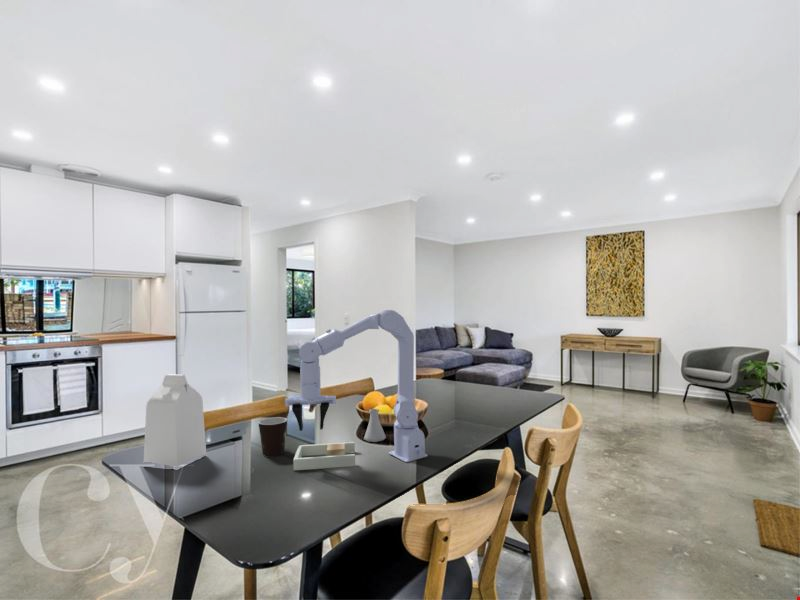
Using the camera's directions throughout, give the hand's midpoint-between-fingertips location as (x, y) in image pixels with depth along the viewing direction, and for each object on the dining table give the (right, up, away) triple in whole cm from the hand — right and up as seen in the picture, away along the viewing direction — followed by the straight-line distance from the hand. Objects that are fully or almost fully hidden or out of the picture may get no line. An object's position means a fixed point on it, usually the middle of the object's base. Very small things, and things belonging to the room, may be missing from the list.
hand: (311, 429), depth 119 cm
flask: (+17, -10, +19) cm, 28 cm away
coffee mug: (-13, -10, +9) cm, 19 cm away
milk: (-41, -11, +3) cm, 43 cm away
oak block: (+7, -9, +1) cm, 12 cm away
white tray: (+5, -9, 0) cm, 10 cm away
